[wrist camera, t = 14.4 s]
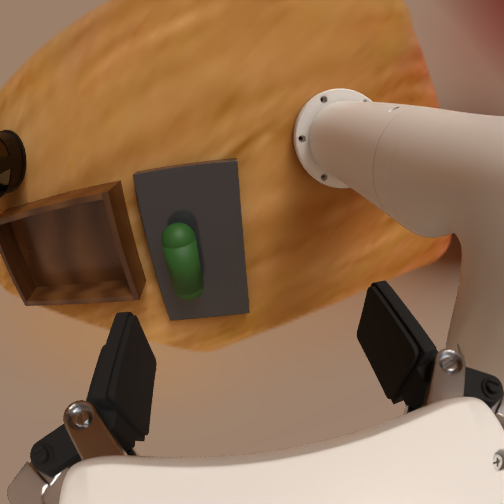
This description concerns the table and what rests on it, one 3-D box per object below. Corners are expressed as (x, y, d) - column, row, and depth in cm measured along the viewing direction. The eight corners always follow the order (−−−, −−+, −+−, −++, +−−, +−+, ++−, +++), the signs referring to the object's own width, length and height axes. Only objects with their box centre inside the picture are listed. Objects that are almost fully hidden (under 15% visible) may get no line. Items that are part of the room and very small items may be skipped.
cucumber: (200, 219, 31) (175, 234, 28) (212, 293, 36) (192, 311, 33) (175, 215, 32) (151, 228, 30) (189, 285, 38) (170, 300, 35)
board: (236, 157, 31) (237, 160, 29) (248, 306, 42) (249, 313, 40) (136, 171, 30) (132, 174, 28) (171, 314, 41) (170, 320, 39)
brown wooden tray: (120, 180, 30) (107, 191, 26) (146, 280, 37) (139, 300, 33) (5, 210, 28) (-11, 222, 24) (36, 289, 36) (25, 305, 32)
